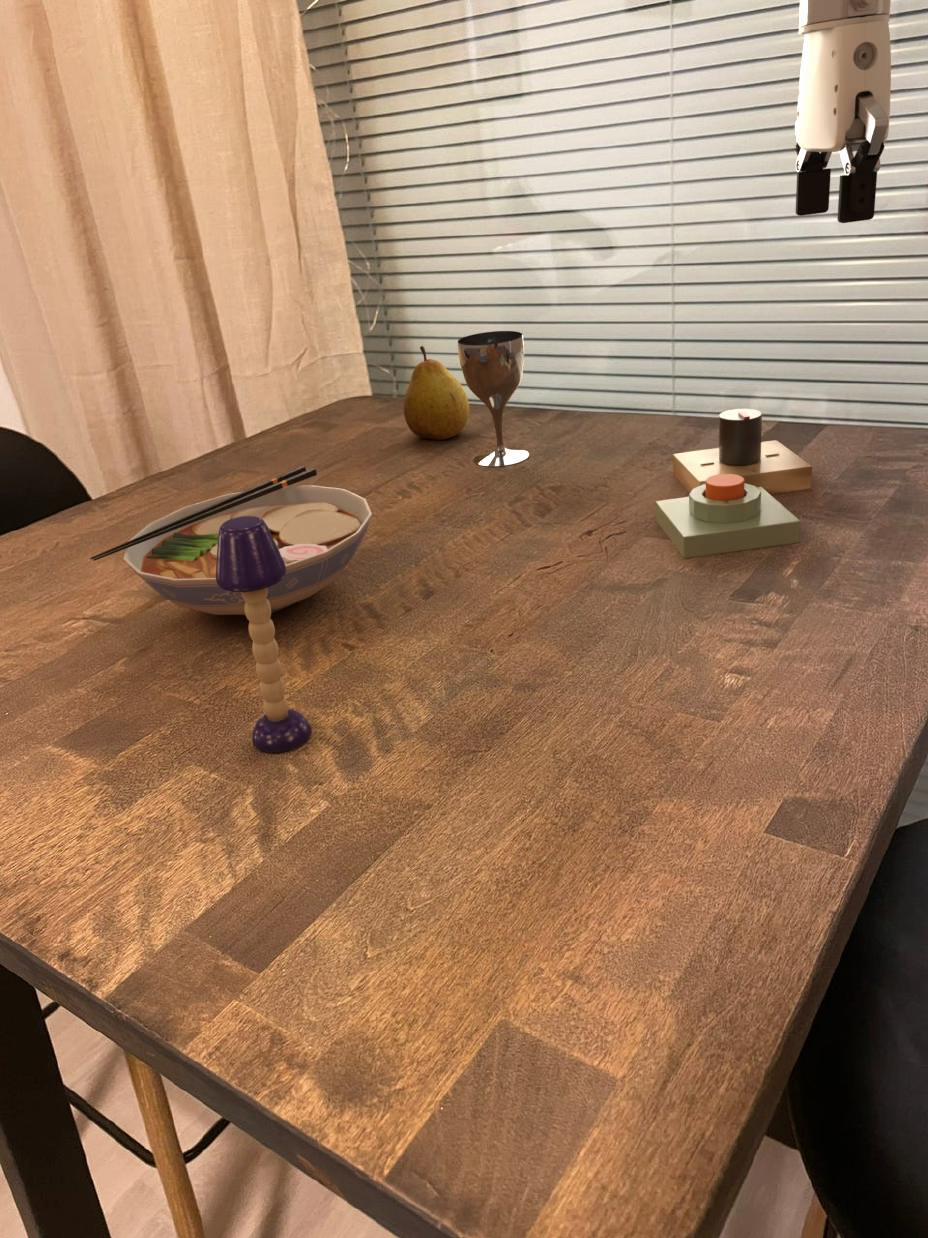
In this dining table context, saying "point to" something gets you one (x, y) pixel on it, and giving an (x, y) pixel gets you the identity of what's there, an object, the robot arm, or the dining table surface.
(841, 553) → the dining table surface
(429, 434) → the fruit
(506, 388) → the wine glass
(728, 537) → the switch box
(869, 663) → the dining table surface
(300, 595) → the ramen bowl
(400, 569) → the dining table surface
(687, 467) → the dimmer panel
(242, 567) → the toy lamp
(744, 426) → the dimmer knob
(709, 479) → the power button
